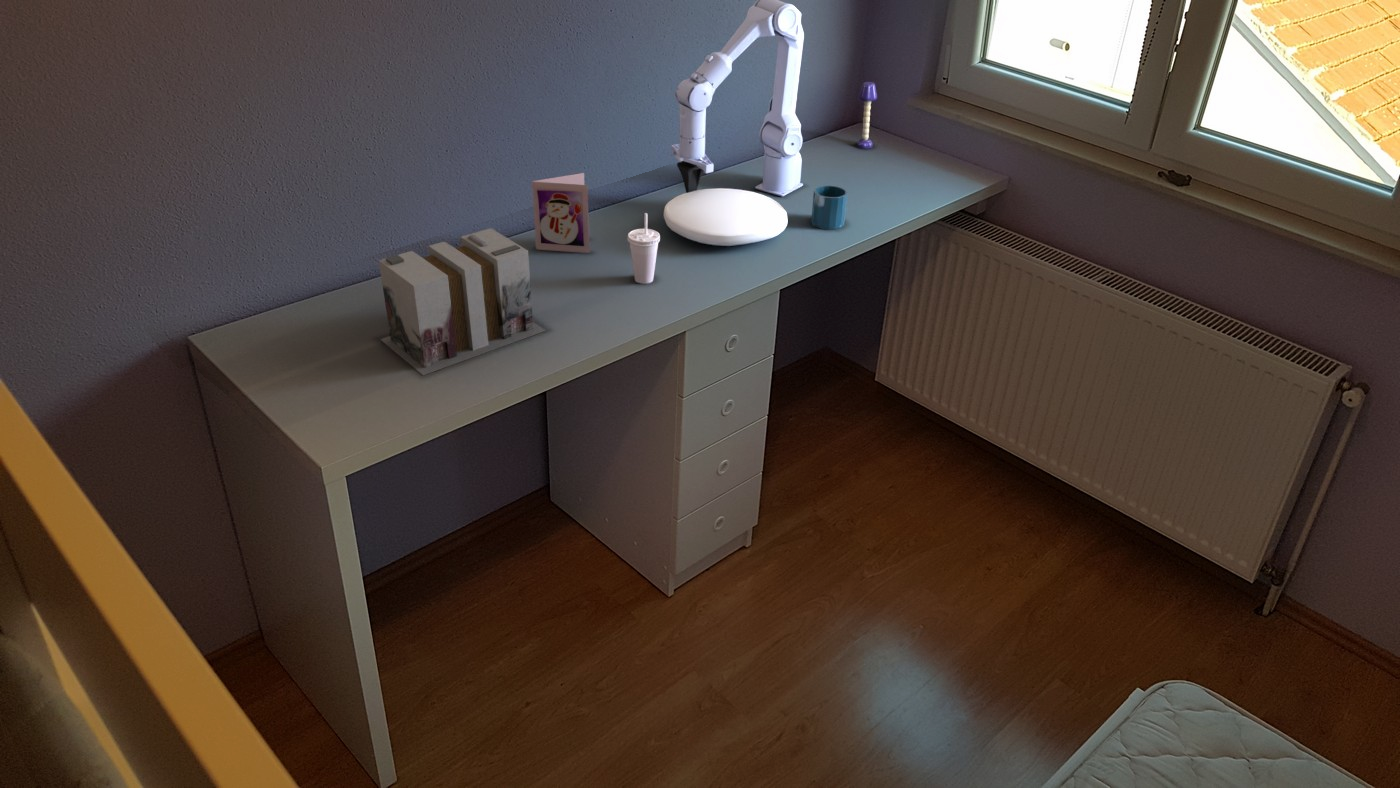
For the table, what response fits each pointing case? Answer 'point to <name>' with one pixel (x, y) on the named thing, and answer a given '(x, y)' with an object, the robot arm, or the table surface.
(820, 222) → the teacup
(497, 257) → the model building
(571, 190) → the greeting card
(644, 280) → the smoothie
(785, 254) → the table surface
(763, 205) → the white round cushion
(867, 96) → the toy lamp
